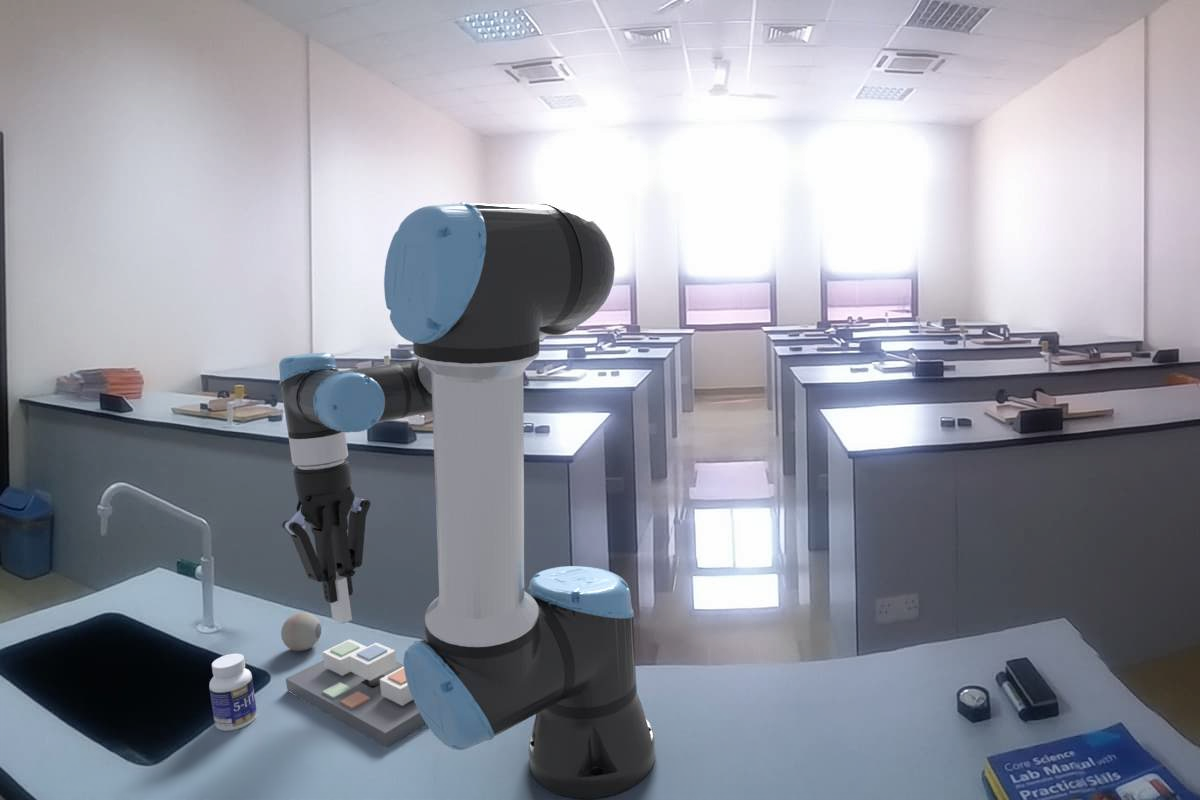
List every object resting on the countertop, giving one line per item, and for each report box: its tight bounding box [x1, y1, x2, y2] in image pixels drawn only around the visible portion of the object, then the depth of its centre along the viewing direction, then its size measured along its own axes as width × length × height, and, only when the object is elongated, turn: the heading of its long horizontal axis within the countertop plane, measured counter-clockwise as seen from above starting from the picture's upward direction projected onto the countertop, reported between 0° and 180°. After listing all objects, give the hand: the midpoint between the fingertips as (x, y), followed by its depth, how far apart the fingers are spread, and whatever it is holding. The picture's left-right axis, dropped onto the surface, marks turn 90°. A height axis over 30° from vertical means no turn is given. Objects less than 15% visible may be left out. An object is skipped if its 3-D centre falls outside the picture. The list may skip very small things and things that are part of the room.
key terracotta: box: [380, 666, 413, 706], centre depth 105 cm, size 5×5×5 cm
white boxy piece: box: [349, 642, 398, 686], centre depth 109 cm, size 5×5×5 cm
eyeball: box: [280, 611, 322, 652], centre depth 124 cm, size 6×6×6 cm
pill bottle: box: [208, 653, 258, 732], centre depth 105 cm, size 5×5×9 cm
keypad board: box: [285, 659, 427, 748], centre depth 109 cm, size 24×12×2 cm, turn 51°
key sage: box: [322, 638, 367, 676], centre depth 114 cm, size 5×5×5 cm
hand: (342, 619), depth 112 cm, fingers closed
